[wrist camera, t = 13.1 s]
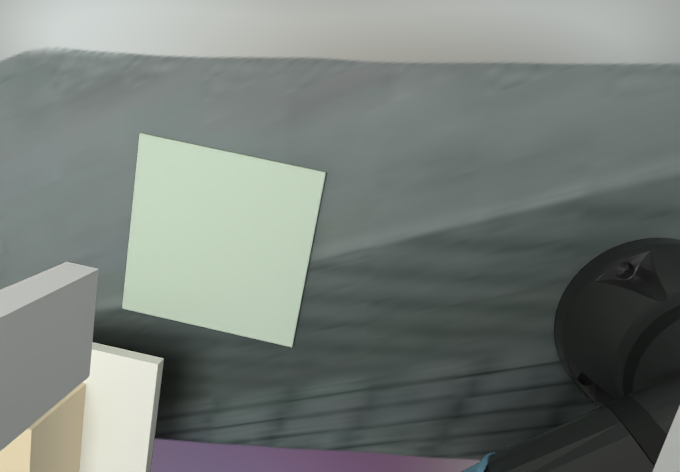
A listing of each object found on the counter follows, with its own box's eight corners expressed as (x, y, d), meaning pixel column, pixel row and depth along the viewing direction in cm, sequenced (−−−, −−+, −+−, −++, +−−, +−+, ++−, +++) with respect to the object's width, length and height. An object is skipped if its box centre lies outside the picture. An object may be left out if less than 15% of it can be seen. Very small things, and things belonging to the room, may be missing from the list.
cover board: (163, 358, 38) (115, 408, 31) (146, 506, 41) (98, 581, 34) (-6, 319, 39) (-90, 360, 32) (-11, 468, 42) (-88, 535, 35)
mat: (326, 172, 41) (325, 172, 40) (292, 344, 44) (291, 347, 44) (142, 133, 42) (139, 133, 41) (125, 306, 45) (122, 308, 45)
